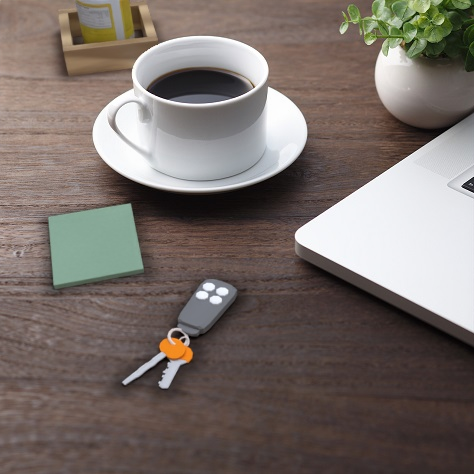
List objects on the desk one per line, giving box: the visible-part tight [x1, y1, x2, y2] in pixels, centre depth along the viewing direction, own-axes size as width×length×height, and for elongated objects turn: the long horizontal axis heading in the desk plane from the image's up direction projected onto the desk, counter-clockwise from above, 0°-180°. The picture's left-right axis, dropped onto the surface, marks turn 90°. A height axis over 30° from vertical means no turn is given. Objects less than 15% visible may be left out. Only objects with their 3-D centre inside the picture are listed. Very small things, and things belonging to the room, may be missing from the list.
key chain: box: [121, 278, 238, 390], centre depth 70 cm, size 13×4×2 cm, turn 157°
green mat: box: [47, 202, 145, 290], centre depth 79 cm, size 10×8×1 cm
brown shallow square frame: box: [57, 0, 160, 77], centre depth 106 cm, size 11×11×4 cm
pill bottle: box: [74, 0, 136, 44], centre depth 104 cm, size 6×6×12 cm
